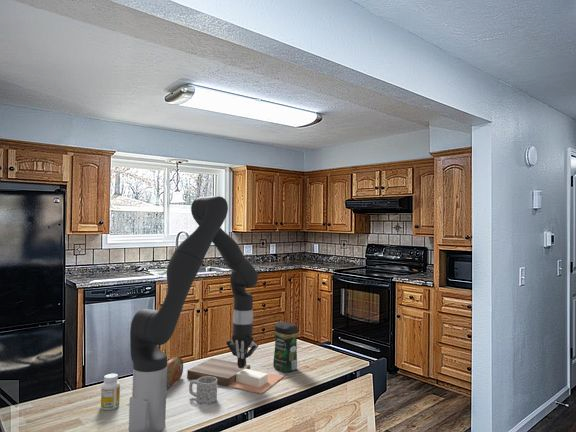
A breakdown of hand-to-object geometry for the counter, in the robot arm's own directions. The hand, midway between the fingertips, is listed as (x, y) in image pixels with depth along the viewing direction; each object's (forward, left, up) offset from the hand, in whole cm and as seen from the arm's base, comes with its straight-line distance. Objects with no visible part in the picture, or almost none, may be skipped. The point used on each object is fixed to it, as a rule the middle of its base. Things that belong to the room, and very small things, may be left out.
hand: (241, 367), depth 160 cm
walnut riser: (0, +10, -4) cm, 11 cm away
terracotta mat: (+1, -6, -4) cm, 8 cm away
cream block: (-1, -5, -4) cm, 6 cm away
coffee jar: (+19, -9, -5) cm, 22 cm away
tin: (-15, +21, -5) cm, 26 cm away
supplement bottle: (-39, +25, -5) cm, 46 cm away
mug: (-21, +3, -5) cm, 22 cm away
